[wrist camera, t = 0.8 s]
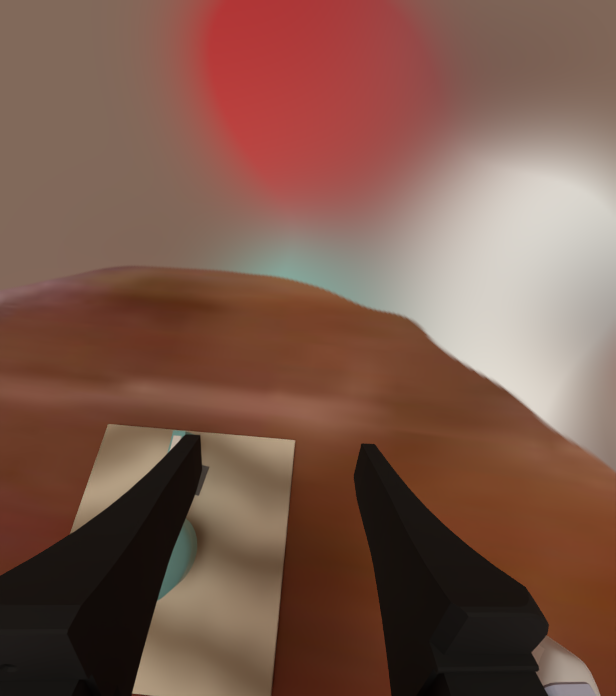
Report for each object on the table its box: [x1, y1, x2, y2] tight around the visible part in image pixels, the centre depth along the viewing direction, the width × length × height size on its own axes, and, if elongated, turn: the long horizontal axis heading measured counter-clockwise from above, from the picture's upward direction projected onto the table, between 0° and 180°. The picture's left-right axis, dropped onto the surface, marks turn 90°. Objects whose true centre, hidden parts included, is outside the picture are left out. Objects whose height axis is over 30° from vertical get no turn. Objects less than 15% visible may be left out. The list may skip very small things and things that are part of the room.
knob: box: [157, 430, 197, 601], centre depth 22 cm, size 11×5×3 cm, turn 175°
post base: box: [70, 424, 295, 696], centre depth 24 cm, size 18×18×4 cm
